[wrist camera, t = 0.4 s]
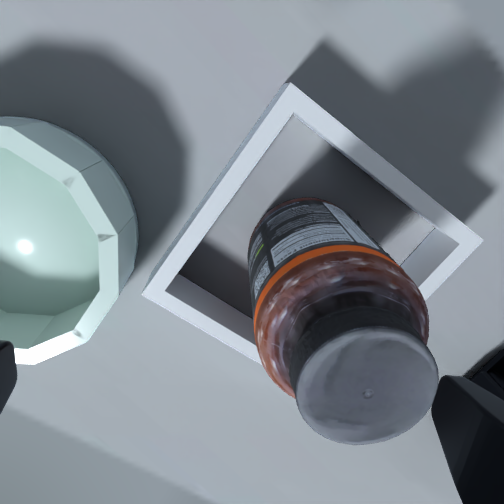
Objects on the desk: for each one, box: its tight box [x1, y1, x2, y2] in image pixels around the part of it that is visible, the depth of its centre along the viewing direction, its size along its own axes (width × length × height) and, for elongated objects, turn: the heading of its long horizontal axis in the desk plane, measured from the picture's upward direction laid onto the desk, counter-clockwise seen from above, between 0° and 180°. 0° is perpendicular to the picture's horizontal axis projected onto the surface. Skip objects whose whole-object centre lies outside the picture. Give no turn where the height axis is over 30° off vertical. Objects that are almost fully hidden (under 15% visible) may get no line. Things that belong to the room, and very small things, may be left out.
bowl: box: [0, 116, 139, 364], centre depth 19 cm, size 11×11×4 cm
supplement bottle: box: [248, 198, 439, 445], centre depth 16 cm, size 6×6×11 cm
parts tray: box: [141, 82, 484, 366], centre depth 20 cm, size 12×12×2 cm
